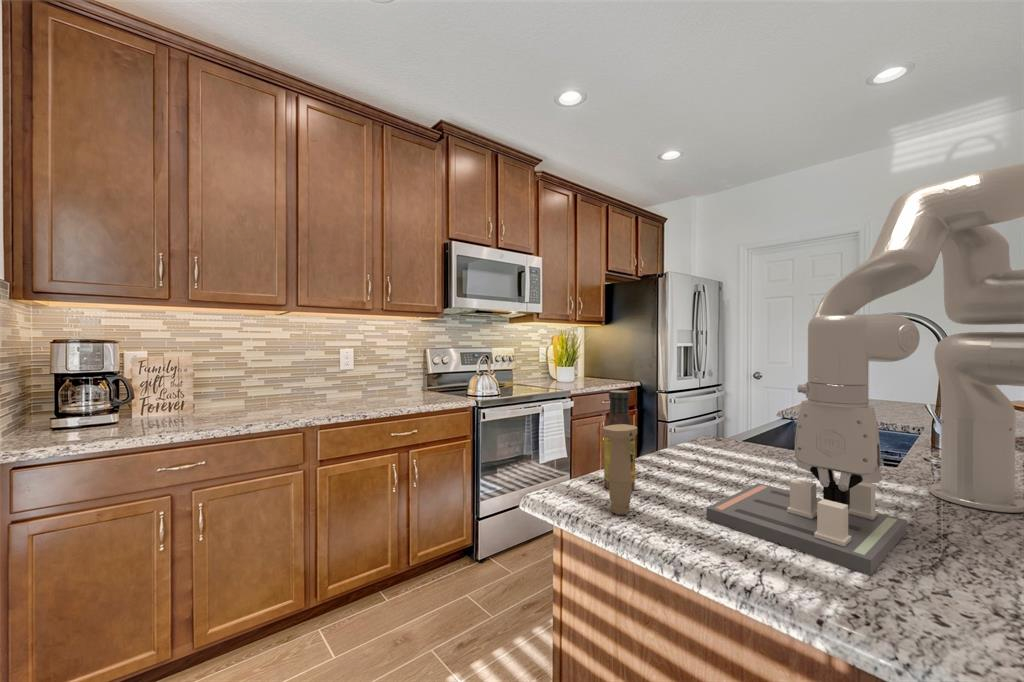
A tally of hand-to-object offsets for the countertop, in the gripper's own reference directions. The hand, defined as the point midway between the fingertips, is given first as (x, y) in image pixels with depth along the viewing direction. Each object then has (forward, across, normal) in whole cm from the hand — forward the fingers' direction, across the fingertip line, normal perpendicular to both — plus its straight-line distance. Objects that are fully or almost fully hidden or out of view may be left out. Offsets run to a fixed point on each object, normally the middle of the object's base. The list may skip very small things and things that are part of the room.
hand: (836, 512), depth 67 cm
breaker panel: (+4, -4, 0) cm, 6 cm away
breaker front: (+2, +1, -7) cm, 7 cm away
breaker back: (+2, +2, +7) cm, 7 cm away
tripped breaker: (+2, -4, 0) cm, 5 cm away
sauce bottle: (+4, -35, -9) cm, 36 cm away
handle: (+4, -27, -19) cm, 33 cm away
